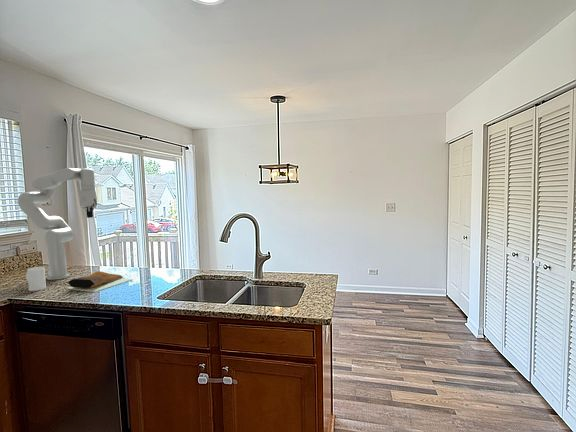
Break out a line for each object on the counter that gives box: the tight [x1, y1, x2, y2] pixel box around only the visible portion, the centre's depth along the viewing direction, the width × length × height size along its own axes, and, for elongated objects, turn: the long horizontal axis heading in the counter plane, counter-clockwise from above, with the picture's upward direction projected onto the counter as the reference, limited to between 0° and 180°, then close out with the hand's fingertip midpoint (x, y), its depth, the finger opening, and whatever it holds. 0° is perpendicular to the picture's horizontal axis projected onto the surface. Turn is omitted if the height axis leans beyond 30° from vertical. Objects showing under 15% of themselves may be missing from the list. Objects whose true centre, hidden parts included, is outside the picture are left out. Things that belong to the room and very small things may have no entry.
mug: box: [25, 266, 47, 292], centre depth 199 cm, size 12×8×12 cm
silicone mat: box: [66, 277, 134, 293], centre depth 206 cm, size 22×27×1 cm
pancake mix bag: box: [67, 270, 124, 288], centre depth 208 cm, size 7×19×28 cm
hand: (89, 217), depth 218 cm, fingers closed
